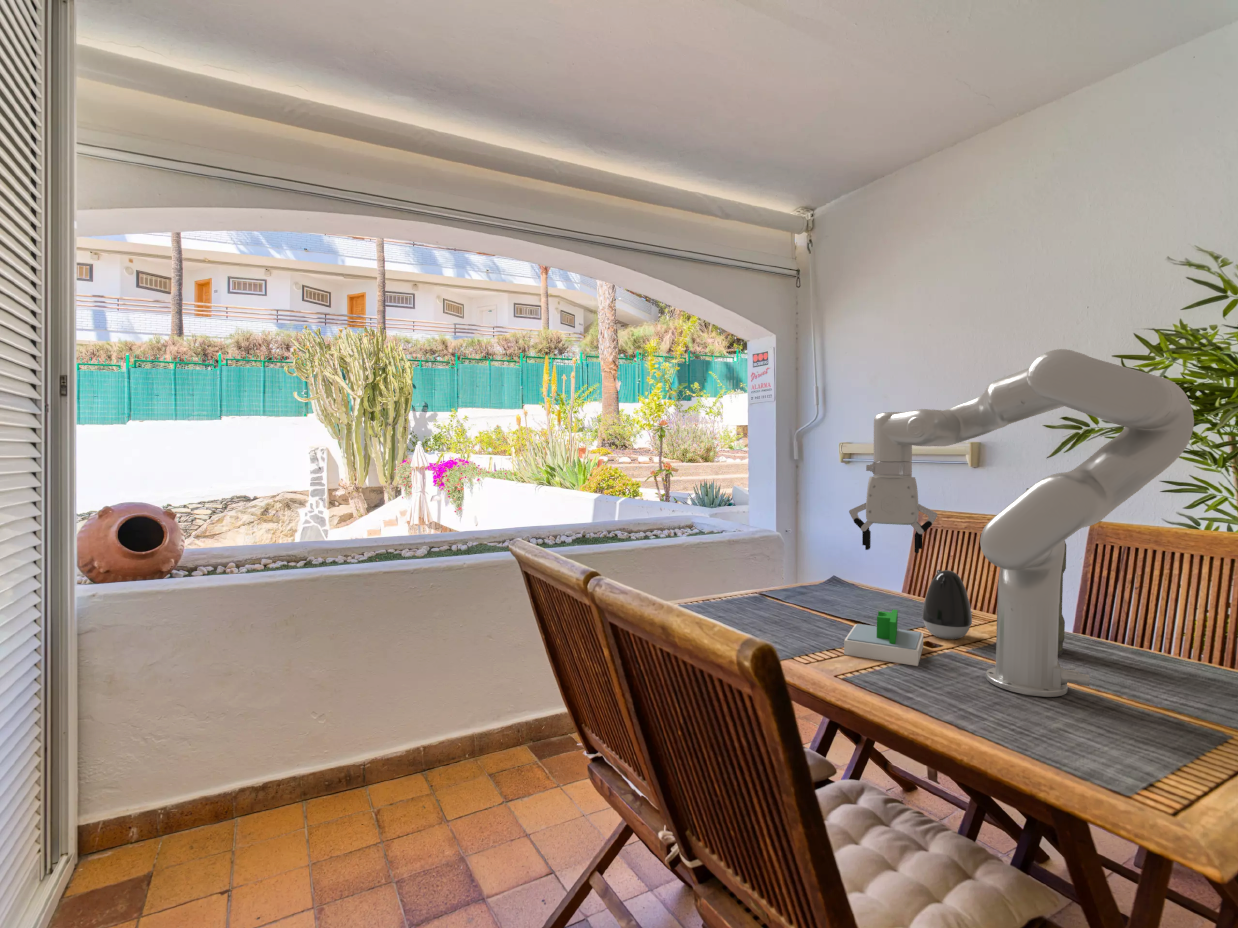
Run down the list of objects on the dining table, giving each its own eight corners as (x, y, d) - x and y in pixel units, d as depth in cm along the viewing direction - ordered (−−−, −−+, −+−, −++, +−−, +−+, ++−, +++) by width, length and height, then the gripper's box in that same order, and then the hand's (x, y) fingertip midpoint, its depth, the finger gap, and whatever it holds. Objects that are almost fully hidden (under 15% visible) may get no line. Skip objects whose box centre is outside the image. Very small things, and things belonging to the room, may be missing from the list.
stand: (923, 647, 140) (923, 631, 139) (917, 666, 127) (918, 649, 127) (855, 637, 146) (855, 622, 146) (844, 654, 134) (844, 638, 134)
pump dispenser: (959, 630, 153) (961, 566, 152) (979, 643, 142) (981, 575, 142) (914, 628, 154) (916, 565, 153) (931, 641, 143) (933, 574, 143)
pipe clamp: (878, 628, 142) (879, 607, 142) (897, 630, 141) (897, 609, 141) (875, 641, 132) (875, 619, 132) (895, 644, 131) (895, 621, 130)
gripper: (847, 470, 137) (846, 550, 138) (937, 471, 130) (936, 556, 130) (852, 469, 144) (851, 545, 144) (938, 470, 136) (937, 551, 136)
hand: (891, 550), depth 137 cm, fingers open, 9 cm apart
